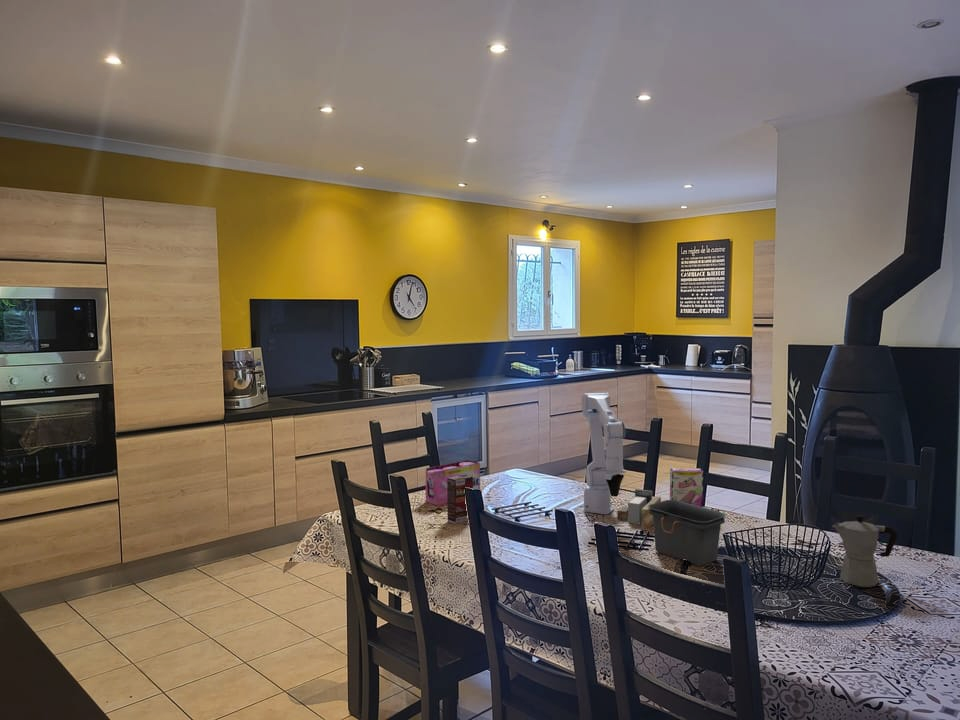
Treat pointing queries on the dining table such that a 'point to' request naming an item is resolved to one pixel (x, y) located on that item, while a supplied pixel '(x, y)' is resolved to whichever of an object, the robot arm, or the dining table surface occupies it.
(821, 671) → the dining table surface
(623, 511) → the walnut block
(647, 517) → the shelf wall
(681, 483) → the candy bar box
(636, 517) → the boxed book
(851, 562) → the coffeepot
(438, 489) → the gum box
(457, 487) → the supplement box
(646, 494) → the bookend
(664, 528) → the storage bin
